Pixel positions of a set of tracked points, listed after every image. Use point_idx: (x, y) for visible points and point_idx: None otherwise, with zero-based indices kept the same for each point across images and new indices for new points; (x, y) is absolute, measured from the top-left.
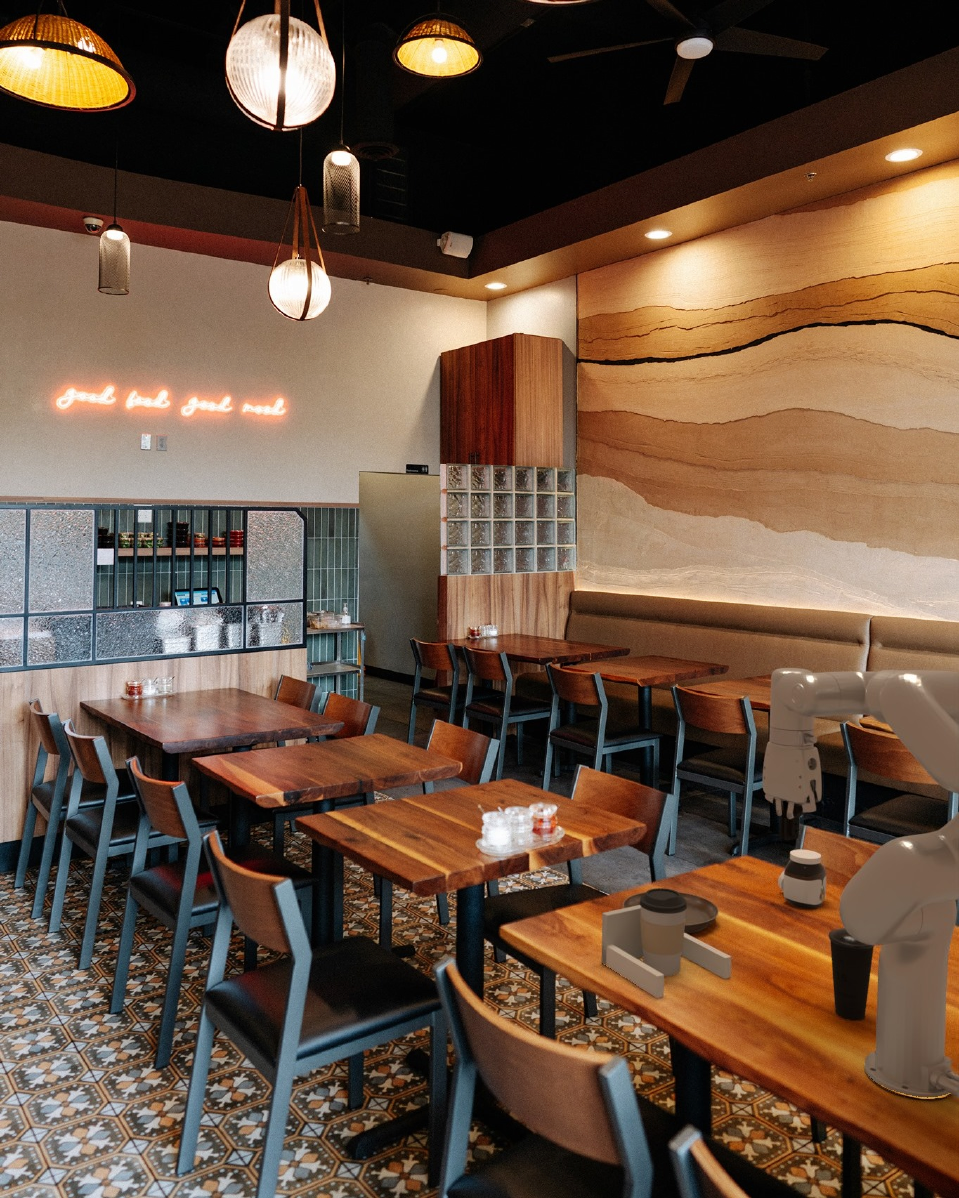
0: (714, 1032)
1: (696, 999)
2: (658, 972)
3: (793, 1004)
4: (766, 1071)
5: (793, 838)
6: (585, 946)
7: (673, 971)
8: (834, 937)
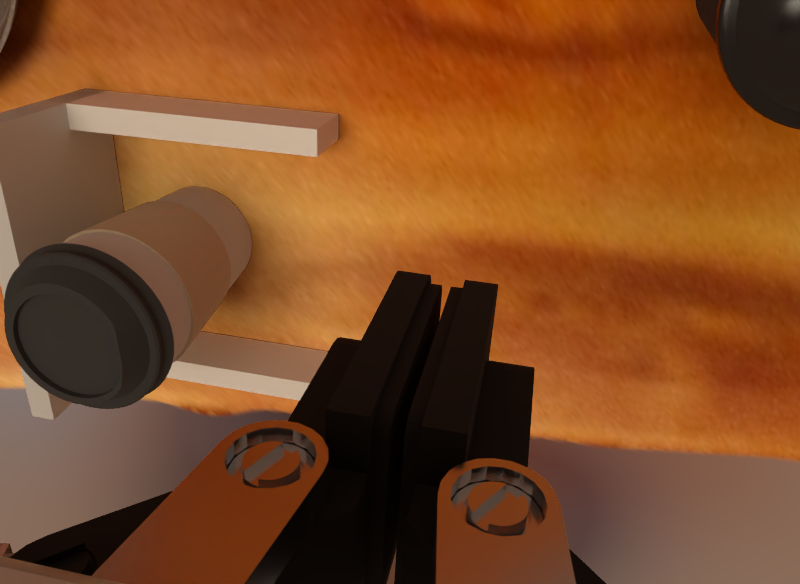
0: (537, 397)
1: None
2: (300, 384)
3: (576, 99)
4: (733, 448)
5: (489, 352)
6: None
7: (248, 247)
8: (783, 106)
